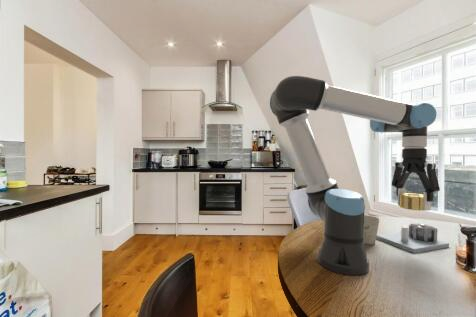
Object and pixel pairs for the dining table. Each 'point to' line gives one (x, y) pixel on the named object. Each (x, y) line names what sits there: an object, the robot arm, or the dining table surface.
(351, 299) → the dining table surface
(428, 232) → the gear
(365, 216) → the mug
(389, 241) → the gear board
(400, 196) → the gear
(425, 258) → the dining table surface
